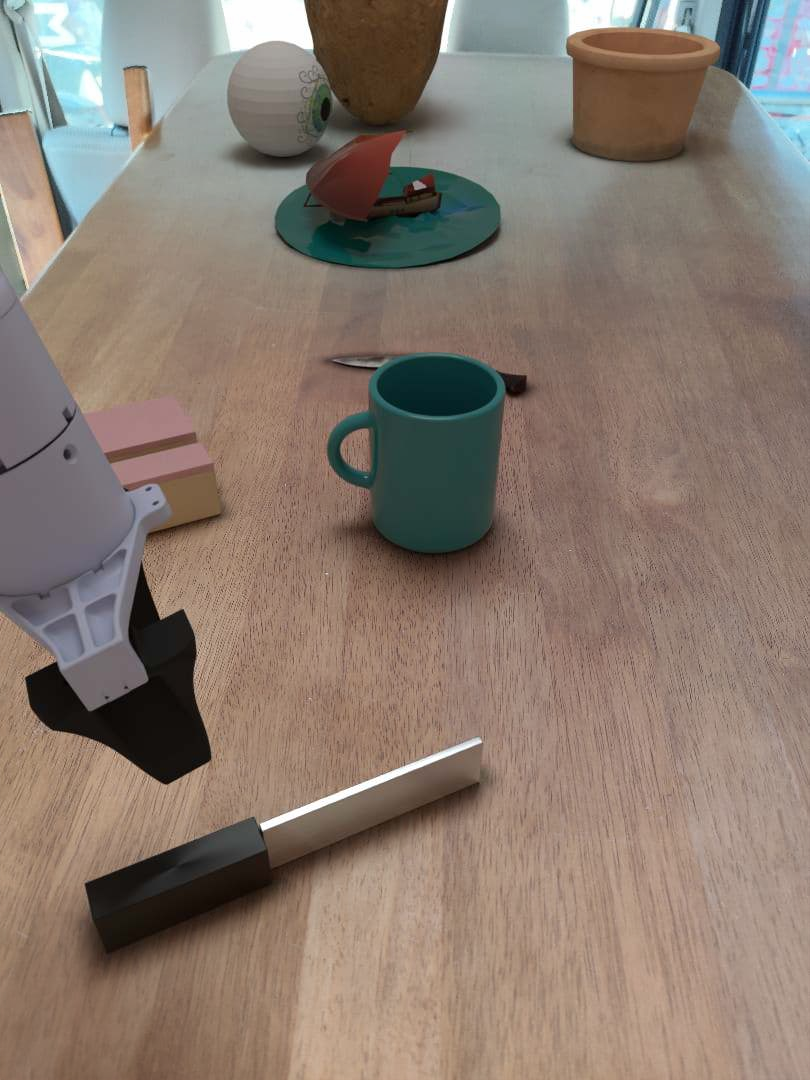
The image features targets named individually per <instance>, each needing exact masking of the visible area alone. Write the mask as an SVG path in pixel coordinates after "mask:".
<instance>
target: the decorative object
mask: <svg viewBox="0 0 810 1080" xmlns="http://www.w3.org/2000/svg"><path fill="white" fill-rule="evenodd" d="M226 96H227V99H226V101H227V102H226V104H227V108H228V114H229V116H230V119H231V121H232V124H233V126H234V128H235V129H236V131H237V132H238V134H239V135H240V136H241V137H242V139H243V140H244V141H245V142H246V143H247V145H250V146H251V147H252V148H254V149H255V150H257V151H258V152H260V153H262V154H265V155H268V156H271V157H277V158H287V157H295V156H298V155H300V154H302V153H304V152H307V151H308V150H310V149H311V148H312V147H314V146H315V145H316V144H317V143H318V142H319V141H320V139H322V137H323V135H324V133H325V132H326V130H327V128H328V125H329V123H330V121H331V117H332V113H333V93H332V90H331V88H330V85H329V81H328V78H327V76H326V74H325V72H324V70H323V68H322V66H321V65H320V64H319V63H318V61H317V60H316V57H315V56H313V55H312V54H311V53H310V52H308V50H306V49H305V48H303V47H301V46H300V45H297V44H295V43H291V42H287V41H284V40H268V41H265V42H262V43H258V44H256V45H254V46H253V47H251V48H249V49H248V50H246V52H244V54H242V56H241V57H240V58H239V59H238V60H237V62H236V63H235V64H234V66H233V67H232V71H231V73H230V75H229V79H228V84H227V89H226Z"/></svg>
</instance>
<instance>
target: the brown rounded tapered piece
mask: <svg viewBox="0 0 810 1080" xmlns="http://www.w3.org/2000/svg"><path fill="white" fill-rule="evenodd" d="M303 3H304V10H305V14H306V19H307V25H308V28H309V32H310V35H311V40H312V48H313V49H312V53H313V55H314V58H315V59H316V60H317V61H318V63H319V64H320V65H321V66H322V68H323V70H324V72H325V74H326V76H327V78H328V81H329V85H330V88H331V93H332V95H334V97H335V98H336V99H337V101H338V103H340V105H341V106H342V107H343V108H344V109H345V110H346V111H347V112H348V114H351V116H352V117H355V118H356V119H357V120H360V121H361V122H363V123H366V124H369V125H371V126H382V125H386V124H390V123H395V122H399V121H401V120H403V119H404V118H406V117H407V116H408V115H410V114H411V112H413V110H414V109H415V108H416V106H417V104H419V101H420V99H421V97H422V95H423V93H424V91H425V88H426V86H427V84H428V82H429V80H430V78H431V76H432V74H433V72H434V70H435V67H436V64H437V62H438V57H439V54H440V52H441V46H442V40H443V39H442V38H443V33H444V28H445V20H446V16H447V10H448V5H449V0H303Z"/></svg>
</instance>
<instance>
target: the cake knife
mask: <svg viewBox="0 0 810 1080" xmlns="http://www.w3.org/2000/svg"><path fill="white" fill-rule="evenodd" d="M483 750H484V741H483V740H482V738H481V736H479V735H478V736H475V737H473V738H470V739H468V740H465V741H462V742H460V743H457V744H454V745H452V746H449V747H448V748H444V749H442V750H439V751H438V752H435V753H431V754H430V755H427V756H425V757H422V758H420V759H417V760H414V761H412V762H409V763H407V764H404V765H402V766H400V767H398V768H394V769H392V770H391V771H387V772H385V773H383V774H379V775H377V776H375V777H372V778H369V779H367V780H364V781H362V782H360V783H357V784H355V785H352V786H350V787H348V788H344V789H343V790H340V791H337V792H335V793H331V794H330V795H326V796H325V797H322V798H319V799H316V800H315V801H312V802H309V803H307V804H305V805H302V806H299V807H297V808H294V809H292V810H290V811H289V810H288V811H287V812H285V813H282V814H280V815H277V816H275V817H272V818H270V819H267V820H265V821H262V822H260V823H259V824H258V822H257V819H256V818H255V816H251V817H249V818H245V819H243V820H241V821H239V822H235V823H234V824H231V825H227V826H226V827H224V828H220V829H218V830H216V831H213V832H210V833H208V834H206V835H202V836H200V837H198V838H195V839H193V840H190V841H188V842H185V843H183V844H180V845H178V846H175V847H172V848H170V849H168V850H167V849H166V850H165V851H163V852H160V853H157V854H154V855H153V856H150V857H148V858H147V857H146V858H145V859H142V860H139V861H137V862H135V863H132V864H130V865H128V866H127V865H126V866H125V867H122V868H120V869H116V870H114V871H111V872H109V873H106V874H105V875H102V876H100V877H97V878H94V879H92V880H89V881H87V882H84V888H85V893H86V897H87V901H88V905H89V910H90V914H91V918H92V922H93V925H94V927H95V930H96V932H97V934H98V936H99V939H100V942H101V944H102V946H103V948H104V951H105V953H106V955H108V954H111V953H113V952H115V951H118V950H120V949H122V948H125V947H127V946H129V945H132V944H134V943H136V942H138V941H141V940H144V939H145V938H149V937H151V936H153V935H155V934H157V933H160V932H162V931H164V930H167V929H170V928H171V927H175V926H176V925H179V924H181V923H183V922H186V921H189V920H190V919H192V918H195V917H198V916H200V915H202V914H204V913H207V912H209V911H211V910H214V909H216V908H219V907H221V906H224V905H225V904H228V903H230V902H233V901H235V900H237V899H240V898H242V897H244V896H246V895H247V896H248V894H249V895H250V894H252V893H254V892H256V891H258V890H261V889H263V888H266V887H268V886H270V885H273V884H274V881H273V875H272V870H273V869H275V868H277V867H279V866H283V865H284V864H287V863H289V862H291V861H292V862H293V861H294V860H296V859H298V858H301V857H303V856H307V854H310V853H313V852H316V851H318V850H320V849H322V848H325V847H328V846H330V845H332V844H335V843H337V842H339V841H342V840H344V839H346V838H349V837H351V836H353V835H357V834H359V833H361V832H363V831H366V830H368V829H370V828H372V827H375V826H378V825H380V824H382V823H385V822H387V821H389V820H391V819H395V818H397V817H399V816H401V815H403V814H406V813H408V812H411V811H414V810H416V809H418V808H420V807H422V806H425V805H428V804H429V803H432V802H435V801H437V800H440V799H441V798H444V797H447V796H449V795H451V794H453V793H456V792H458V791H460V790H463V789H466V788H468V787H470V786H473V785H475V784H478V783H479V782H480V780H481V779H480V778H481V768H482V761H483Z"/></svg>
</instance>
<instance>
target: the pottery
mask: <svg viewBox="0 0 810 1080" xmlns="http://www.w3.org/2000/svg"><path fill="white" fill-rule="evenodd" d="M565 50H566V51H565V52H566V55H567V56H569V57H570V58H572V144H573V145H574V146H575V147H576V149H578V150H580V151H581V152H583V153H586V154H588V155H591V156H593V157H597V158H603V159H607V160H612V161H613V160H615V161H624V162H653V161H660V160H667V159H669V158H672V157H674V156H676V155H678V154H679V153H680V152H681V150H682V149H683V145H684V142H685V140H686V136H687V133H688V130H689V128H690V123H691V120H692V118H693V115H694V112H695V108H696V106H697V103H698V100H699V97H700V93H701V92H702V88H703V85H704V82H705V78H706V75H707V72H708V70H709V67H712V66H713V65H714V64H716V63H717V62H718V60H719V59H720V54H721V47H720V45H719V44H718V42H717V41H715V40H712V39H710V38H707V37H706V36H703V35H699V34H694V33H689V32H685V31H679V30H673V29H672V30H671V29H663V28H655V27H654V28H653V27H639V26H638V27H637V26H636V27H633V26H631V27H629V26H624V27H623V26H622V27H621V26H619V27H616V26H614V27H613V26H612V27H600V28H599V27H598V28H590V29H585V30H581V31H576V32H573V33H572V34H570V35H569V36H567V37H566V44H565Z"/></svg>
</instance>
